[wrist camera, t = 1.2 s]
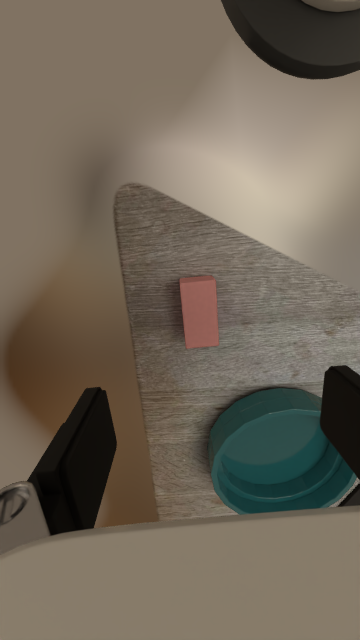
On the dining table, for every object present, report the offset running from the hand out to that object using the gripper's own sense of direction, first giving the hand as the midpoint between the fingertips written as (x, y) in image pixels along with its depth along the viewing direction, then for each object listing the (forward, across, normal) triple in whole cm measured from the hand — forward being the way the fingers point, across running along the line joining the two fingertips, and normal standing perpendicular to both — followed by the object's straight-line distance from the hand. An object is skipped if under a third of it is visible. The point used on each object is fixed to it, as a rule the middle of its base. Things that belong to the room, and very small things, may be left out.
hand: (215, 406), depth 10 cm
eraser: (+14, 0, 0) cm, 14 cm away
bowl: (+14, -8, +16) cm, 23 cm away
